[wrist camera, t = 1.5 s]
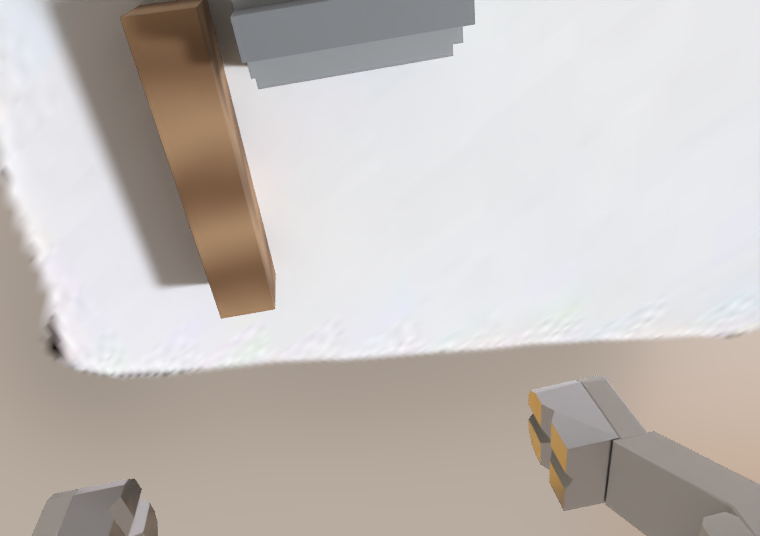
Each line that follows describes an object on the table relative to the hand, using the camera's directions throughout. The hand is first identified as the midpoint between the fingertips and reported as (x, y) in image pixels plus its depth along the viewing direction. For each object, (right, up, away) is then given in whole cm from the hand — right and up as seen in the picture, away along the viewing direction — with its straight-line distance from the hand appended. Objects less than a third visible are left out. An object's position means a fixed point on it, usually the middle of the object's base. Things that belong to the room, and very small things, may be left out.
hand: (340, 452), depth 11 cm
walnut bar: (-9, +11, +23) cm, 27 cm away
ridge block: (-1, +19, +19) cm, 27 cm away
